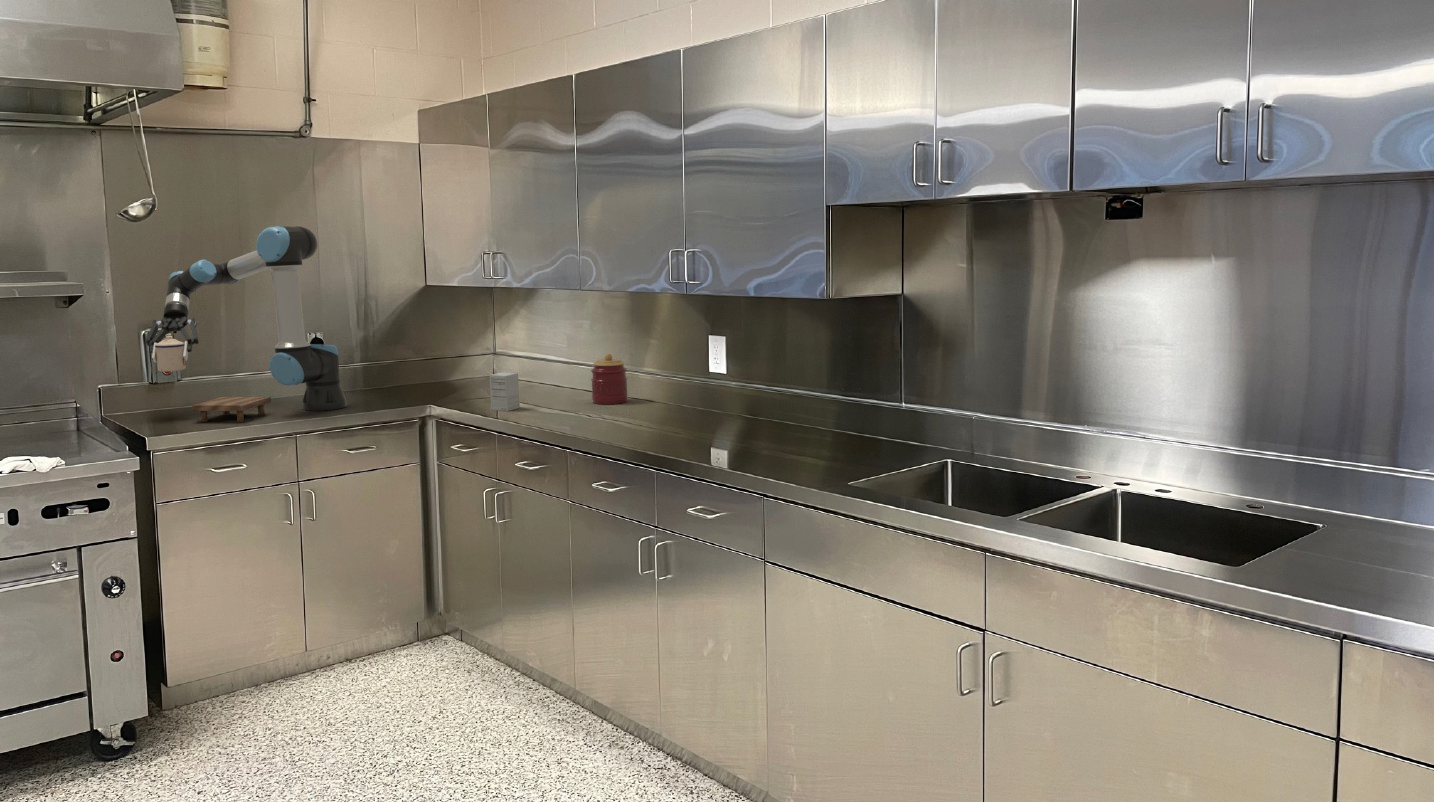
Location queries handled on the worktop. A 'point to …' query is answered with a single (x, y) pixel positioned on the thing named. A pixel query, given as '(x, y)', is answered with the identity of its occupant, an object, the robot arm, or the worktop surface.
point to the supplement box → (504, 391)
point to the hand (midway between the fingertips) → (169, 359)
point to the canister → (609, 381)
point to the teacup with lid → (170, 355)
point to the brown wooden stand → (231, 406)
